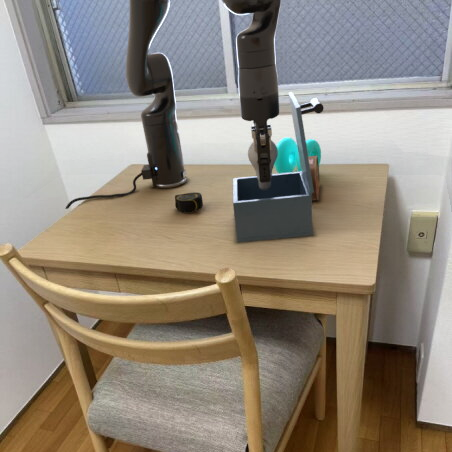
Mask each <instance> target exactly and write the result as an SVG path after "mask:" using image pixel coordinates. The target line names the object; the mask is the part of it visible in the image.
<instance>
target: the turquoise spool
mask: <svg viewBox="0 0 452 452" xmlns="http://www.w3.org/2000/svg"><path fill="white" fill-rule="evenodd" d="M306 146H307V152H308V157H310V156H316V155H317V156H318V164H319V166H320V165H321V161H322V151H321V150H322V149H321V146H320V143H319V142H318V141H317V140H316V139H313V138H309V139H306ZM276 147H277V150H278V155H277V159H276V161H275V163H274V166H273V167H274V168H275V171H276V173H277V174H280V173H290V172H294V170H295V169H296V170H297V172H300V171H302V170H301V165H300V159H299V153H298V147H297V142H296V141H295V140H294V139H293V138H292V137H289V136H287V137H284V138H282V139H280V140H279V142H278V143H277V144H276Z"/></svg>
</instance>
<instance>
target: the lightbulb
mask: <svg viewBox="0 0 452 452" xmlns="http://www.w3.org/2000/svg"><path fill="white" fill-rule="evenodd" d="M256 144H257V141H256ZM271 146H272V150H271V152H270V159H271V164H270V179H271V178H272V174H273V169H274V167H275V166H274V163H275V161H276V159H277V155H278V150H277V144H276V143H275V142H274V141H273V140H272V139H271ZM247 158H248V161H249V162H250V164H251V166H252V167H253V169H254V172H255V174H256V175H255V176H257V179H258V183H259V188H260V189H262V190H264V191H266V190H268V189H269V188H270V187H271V180H270V182H265V183H261V182H260V178H259V165H258V163H257V160H258V158H257V153H255V151H254V141H253V140H252V142H251V143H250V145H249V147H248V149H247ZM260 158H267V153H262V154H260Z"/></svg>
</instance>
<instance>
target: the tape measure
mask: <svg viewBox="0 0 452 452" xmlns="http://www.w3.org/2000/svg"><path fill="white" fill-rule="evenodd" d="M174 200H175V202H174V204H175V205H174V206H175V209H176V210H177V211H178V212H180V213H184V214H185V213H188V214H190V213H195V212H197V211H199V210H201V209H202V208H203V207H204V202H203V201H204V200H203V195H202V193H201V192H187V193H180V194H176V195H174Z"/></svg>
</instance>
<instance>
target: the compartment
mask: <svg viewBox="0 0 452 452" xmlns="http://www.w3.org/2000/svg"><path fill="white" fill-rule="evenodd" d="M232 192H233V193H232V206H233V214H234V224H235V234H236V235H235V236H236V241H237V243H247V242H259V241H267V240H268V241H270V240H279V239H280V240H281V239H289V238H290V239H291V238H300V237H301V238H302V237H311V236H313V200H312V194H311V193H310V192H309V189H308V187H307V184H306V181H305V178H304V176H303V173H302V171H300V172H298V171H292V172H290V173H280V174H279V173H272V178H271V187H270V188H269V189H268V190H266V191H264V190H262V189H260V188H259V183H258V179H257V175H254V176H253V175H251V176H243V177H234V178H232Z"/></svg>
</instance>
